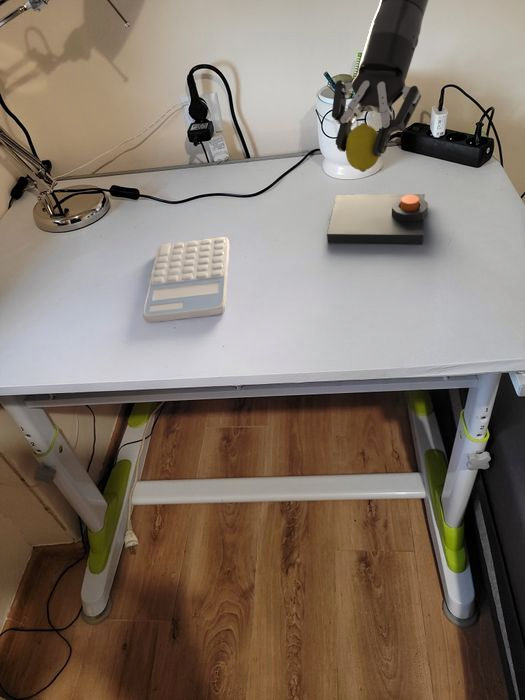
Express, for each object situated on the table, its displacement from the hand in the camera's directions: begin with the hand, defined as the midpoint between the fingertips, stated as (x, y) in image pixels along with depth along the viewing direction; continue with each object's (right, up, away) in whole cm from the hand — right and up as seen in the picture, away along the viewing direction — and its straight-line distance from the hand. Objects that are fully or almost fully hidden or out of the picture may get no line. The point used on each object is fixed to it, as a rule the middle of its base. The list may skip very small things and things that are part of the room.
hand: (358, 152), depth 81 cm
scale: (+5, -9, +10) cm, 14 cm away
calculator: (-28, -20, +6) cm, 35 cm away
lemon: (+2, -2, +4) cm, 5 cm away
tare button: (+10, -7, +7) cm, 14 cm away
